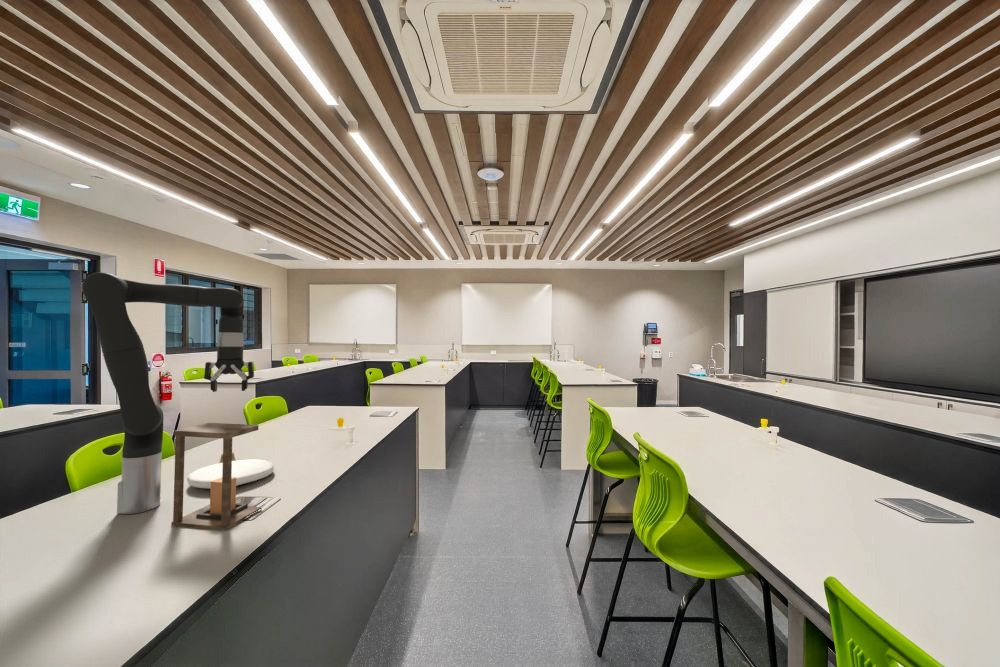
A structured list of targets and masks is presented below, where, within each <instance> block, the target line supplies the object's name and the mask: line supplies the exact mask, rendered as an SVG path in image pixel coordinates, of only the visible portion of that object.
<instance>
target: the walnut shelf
mask: <svg viewBox="0 0 1000 667" xmlns="http://www.w3.org/2000/svg"><path fill="white" fill-rule="evenodd" d="M255 431H259V424H246V423H245V424H242V423H222V422H220V423H218V422H207V423H202V424H198V425H193V426H189V427H184V428H181V429H176V430H173V436H174V437H175V443H174V444H175V446H174V448H175V449H174V475H173V476H174V479H173V480H174V482H173V514H172V516H173V517H172V521H171V527H173V526H174V527H182V528H191V527H192V528H193V529H202V530H212V529H214V530H213V531H222V530H223V531H224V532H226V531H228V530H229V528H230V529H231V528H234V527H235V526H237V525H239V524H240V523H242V522H244V521H245V520H244V519H245V518H246V517H247V516H249V515H250V514H252V513H254V512H256V511H258V510H259V509H261V510H262V507H261V506H249V504H248V503H242V502H241V503H239V502H236V505H235V509H233V510H232V511H231V473H232V452H233V438H235V437H239V436H241V435H242V436H243V435H245V434H250V433H253V432H255ZM187 437H190V438H209V439H222V441H223V442H222V454H223V471H222V508H221V515H217V514H210V503H209V504H208V505H206V506H203V507H201V508H199V509H196V510H195V511H192V512H190V513H188V514H186V515H183V513H184V485H185V484H184V480H185V451H186V450H185V448H186V445H185V444H186V443H185V442H186V441H185V440H186V438H187ZM243 520H244V521H243ZM241 521H242V522H241Z"/></svg>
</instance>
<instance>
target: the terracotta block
mask: <svg viewBox="0 0 1000 667" xmlns="http://www.w3.org/2000/svg"><path fill="white" fill-rule="evenodd" d="M209 489H210V495H209V500H210V501H209V504H210V514H217V515H221V508H222V477H221V478H219V479H216V480H214V481H211V488H209ZM236 495H237V486H236V477H231V511H232V510H233V509H235V505H236V503H237V501H236V500H237V498H236V497H237V496H236Z"/></svg>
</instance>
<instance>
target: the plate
mask: <svg viewBox="0 0 1000 667" xmlns="http://www.w3.org/2000/svg"><path fill="white" fill-rule="evenodd" d="M222 471H223V463H219V462H218V463H214V464H211V465H207V466H203V467H201V468H198V469H196V470H193V471H192V472H191V473H190V474H188V476H187V479H186V481H187V483H188V485H189V486H191V487H193V488H199V489H210V488H211V481H214V480H216V479H219V478H221V477H222ZM274 471H275V467H274V463H272V462H271V461H268V460H265V459H257V458H256V459H254V458H251V459H240V460H239V459H238V460H237V459H236V461H232V473H231V477H236V487H238V486H239V485H244V484H249V483H252V482H255V481H257V480H258V481H259V480H261V479H263V478H266V477H268V476H269V475H271V474H272V473H273V472H274Z"/></svg>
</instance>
